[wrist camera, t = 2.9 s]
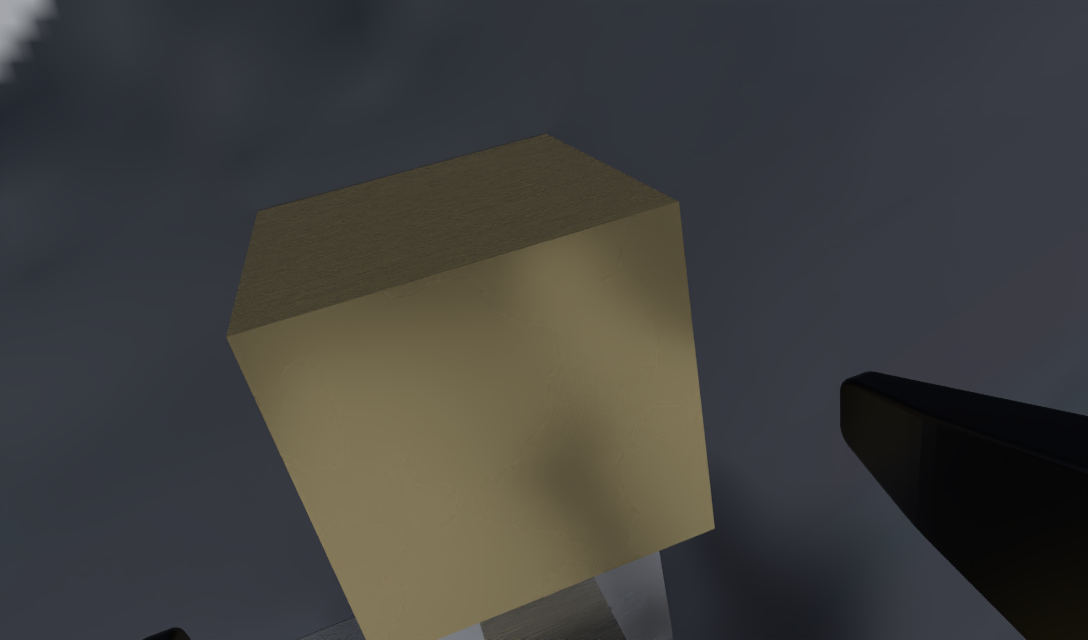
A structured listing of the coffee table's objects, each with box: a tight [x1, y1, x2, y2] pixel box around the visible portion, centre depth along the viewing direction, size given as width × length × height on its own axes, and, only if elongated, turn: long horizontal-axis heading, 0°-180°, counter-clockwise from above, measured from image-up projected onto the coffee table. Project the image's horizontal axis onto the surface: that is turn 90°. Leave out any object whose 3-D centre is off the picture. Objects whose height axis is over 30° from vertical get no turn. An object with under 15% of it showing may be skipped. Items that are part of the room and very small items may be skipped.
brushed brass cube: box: [227, 134, 715, 640], centre depth 13 cm, size 6×6×6 cm
